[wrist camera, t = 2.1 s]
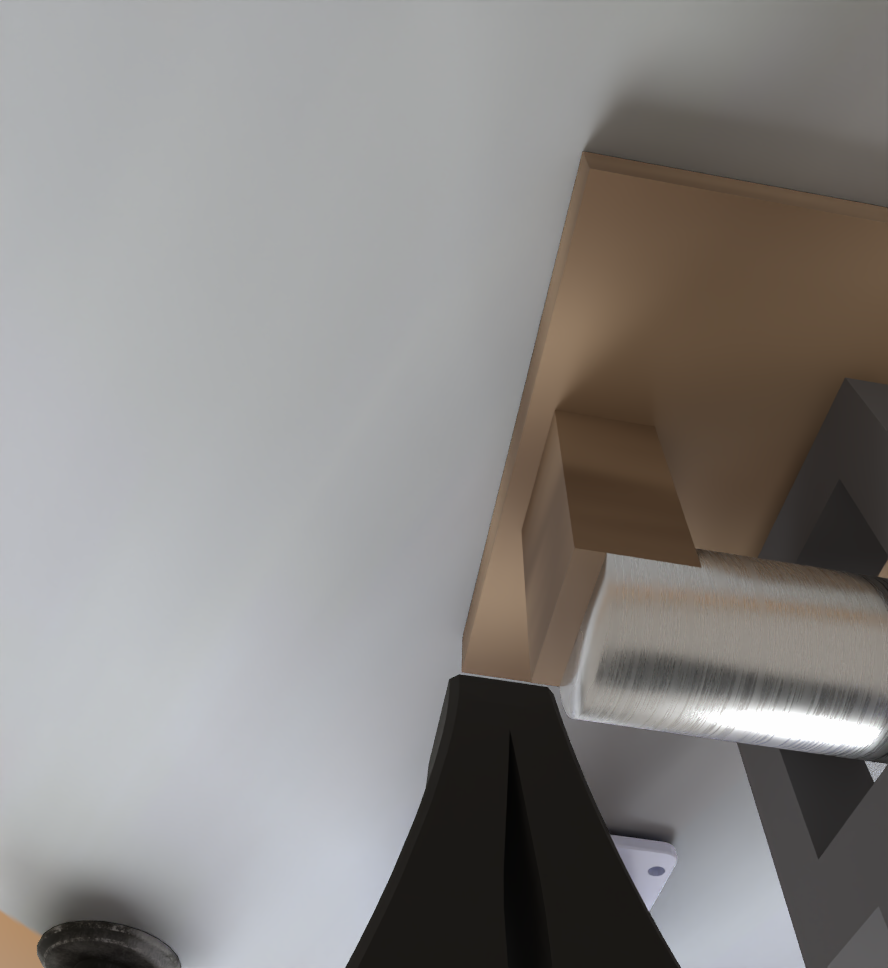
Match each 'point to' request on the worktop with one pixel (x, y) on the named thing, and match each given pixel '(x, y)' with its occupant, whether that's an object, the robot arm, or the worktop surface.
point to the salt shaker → (103, 947)
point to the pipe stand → (689, 466)
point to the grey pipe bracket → (816, 777)
